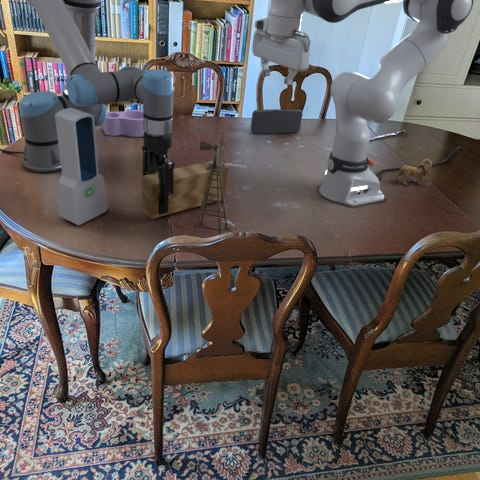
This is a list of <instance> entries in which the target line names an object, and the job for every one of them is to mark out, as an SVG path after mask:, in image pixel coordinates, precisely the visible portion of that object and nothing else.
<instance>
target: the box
mask: <svg viewBox="0 0 480 480" xmlns="http://www.w3.org/2000/svg"><path fill="white" fill-rule="evenodd" d="M213 162H214V160H209V161H205V162H200V163H196V164H195V163H194V164H191V165H185V166H181V167H177V168H174V169H173V181H174V194H171V195H169V201H168V213H164V214H159V195H158V193H160V186H159V179H158V173H157V172H156V173H154V174H149V175H144V176H142V175H141V176H140V186H141V187H140V188H141V190H140V191H141V192H140V193H141V198H140V199H141V210H142V212H143V213H144V214H146V215H147V216H148V217H149V218H150V219H151V220H154V219H157V218H160V217H164V216H169V215H172V214H174V213H178V212H183V211H186V210H190V209H193V208H196V207H201V205H202V203H201V202H202V200H203V198H204V193H205V190H206V187H207V186H206V184H207V183H208V180H209V179H208V177H209V175H210V172H211V170H206V168H207V167H208V166H209V163H213ZM220 165H224V166H226V165H225V164H224V163H223V162H221V163H220ZM211 168H212V167H211ZM228 171H229V167H228V166H227V167H226V169H225V171H224V172H220V174H221V175H222V176H221V181H222V188H223V196H224V200H225V199H226V193H227V184H228V183H227V182H228V174H229V173H228ZM213 173H214V174H216V172H213ZM218 174H219V173H218ZM212 178H213V179H217V178H216V175H212ZM218 179H219V176H218ZM218 182H219V188H220V181H218ZM210 186H214V187H217V181H214V180H211V185H210ZM220 192H221V189H219V194H220ZM209 193H210V194H215V195H217V189H216V188H210V189H209ZM205 199H206V198H205ZM208 199H212V200H217V196H212V195H208ZM219 200H220V201H222V196H221V195H220V196H219ZM217 201H218V200H217ZM211 203H214V201H209V200H207V203H206V205H209V204H211ZM204 204H205V202H204Z"/></svg>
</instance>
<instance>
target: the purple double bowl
mask: <svg viewBox="0 0 480 480" xmlns="http://www.w3.org/2000/svg"><path fill="white" fill-rule="evenodd" d="M102 124H103V131H104V135H107V136H112V137H114V136H127V137H133V138H140V137H141V138H143V137H144V136H143V133H144V132H145V131H144V130H143V109H141V110H140V109H128V110H124V111H106V117H105V120H104V122H103V123H102Z"/></svg>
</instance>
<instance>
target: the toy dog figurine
mask: <svg viewBox="0 0 480 480" xmlns="http://www.w3.org/2000/svg"><path fill="white" fill-rule="evenodd" d="M432 164H433V162H432V160H431V159H428V158H425V159H422V161H421V163H419V165H417V166H418V167H410V166H411V165H404V166H401V167H402V168H401V169H400V170H398V172H397V174H395V176H394V179H393V182H392V184H395V183H396V182H398V178H399V177H402V176H403V178H402V183H403V185H404V186H408V183H407V182H406V180H407V179H408V178H409V177H413V180H412V182H414V183H416V182H417V184H418V185H420V186H422V181H423V179H424V177H426V176H427V175H428V174H429V173H430V171H431V170H432V167H433V166H432ZM417 178H418V180H417Z"/></svg>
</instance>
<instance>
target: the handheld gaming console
mask: <svg viewBox="0 0 480 480" xmlns="http://www.w3.org/2000/svg"><path fill="white" fill-rule="evenodd" d="M302 118H303V111H302V110H301V109H291V108H290V109H289V108H287V109H284V108H283V109H282V108H281V109H280V108H279V109H278V108H277V109H275V108H274V109H255V110H253V112H252V114H251V122H250V131H251V133H253V134H255V135H261V134H262V135H263V134H293V133H299V132H300V131H301V127H302V125H301V124H302Z"/></svg>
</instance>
